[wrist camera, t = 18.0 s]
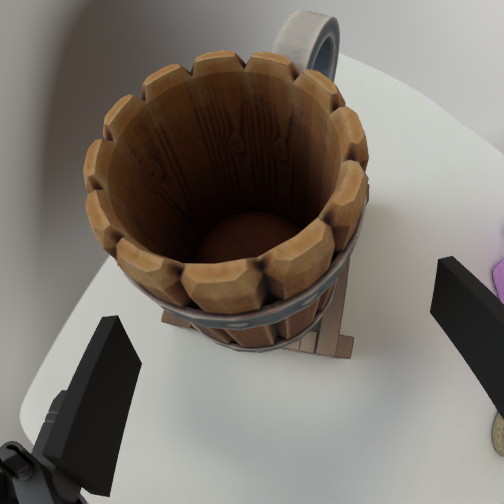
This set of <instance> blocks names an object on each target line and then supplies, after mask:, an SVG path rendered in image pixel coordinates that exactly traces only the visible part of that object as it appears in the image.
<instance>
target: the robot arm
mask: <svg viewBox="0 0 504 504" xmlns="http://www.w3.org/2000/svg"><path fill="white" fill-rule="evenodd" d="M430 313H431V314H432V316H433V317H434V318H435V320H436V321H437V322H438V324H439V325H440V326H441V328H442V329H443V330H444V332H445V333H446V334H447V336H448V337H449V338H450V340H451V341H452V343H453V344H454V345H455V347H456V348H457V350H458V351H459V352H460V354H461V355H462V357H463V358H464V360H465V361H466V362H467V364H468V365H469V367H470V368H471V370H472V371H473V373H474V374H475V376H476V377H477V379H478V380H479V382H480V383H481V385H482V386H483V388H484V389H485V391H486V393H487V394H488V396H489V397H490V399H491V400H492V402H493V404H494V405H495V407H496V409H497V410H498V412H499V413H500V415H501V417H502V418H503V420H504V304H503V303H502V302H501V301H500V300H499V299H498V298H497V297H496V296H495V295H494V294H493V293H492V292H491V291H490V290H489V289H488V288H487V287H486V286H485V285H484V284H482V283H481V282H480V281H479V280H478V279H477V278H476V277H475V276H474V275H473V274H472V273H471V272H470V271H469V270H467V269H466V268H465V267H464V266H463V265H462V264H461V263H460V262H459V261H457V260H456V259H455V258H454V257H453V256H450V257H446V258H441V259H438V265H437V273H436V280H435V286H434V292H433V298H432V304H431V309H430ZM141 365H142V363H141V361H140V359H139V357H138V355H137V353H136V351H135V349H134V347H133V345H132V343H131V341H130V339H129V337H128V335H127V333H126V331H125V329H124V327H123V325H122V323H121V321H120V319H119V317H118V315H116V316H108V317H102V318H101V320H100V322H99V324H98V326H97V328H96V330H95V332H94V334H93V336H92V338H91V340H90V342H89V344H88V346H87V348H86V350H85V352H84V355H83V357H82V359H81V361H80V363H79V365H78V367H77V369H76V372H75V374H74V376H73V378H72V380H71V383H70V385H69V387H68V389H67V390H62V391H61V392H60V393H59V394H58V395H57V396H56V398H55V399H54V400H53V402H52V404H51V406H50V409H49V411H48V412H49V414H47V416H46V418H45V423H43V425H42V428H41V430H40V433H39V435H38V438H37V440H36V443H35V445H34V448H33V451H32V453H31V454H30V453H29V452H28V451H27V450H26V449H25V448H24V447H23V446H22V445H20V444H19V443H18V442H15V441H10V442H7V443H5V444H4V445H2V446H1V447H0V504H87V502H86V500H85V498H84V497H83V496H82V495H81V494H80V491H81V487H82V488H84V489H85V490H86V491H88V492H89V493H90V494H95V495H100V496H106V497H110V492H111V487H112V482H113V477H114V472H115V468H116V463H117V459H118V454H119V450H120V445H121V441H122V437H123V433H124V429H125V425H126V421H127V417H128V413H129V409H130V405H131V401H132V397H133V394H134V390H135V386H136V383H137V379H138V376H139V372H140V369H141Z"/></svg>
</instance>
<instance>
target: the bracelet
mask: <svg viewBox="0 0 504 504" xmlns="http://www.w3.org/2000/svg"><path fill="white" fill-rule="evenodd" d="M492 441H493V445H494V448H495V449H496V451H497V452H498V453H499V454H500V456H503V457H504V420H503V418H502V417H501V415H500V413H499V412H498V414H497V416H496V418H495V421H494V425H493V430H492Z"/></svg>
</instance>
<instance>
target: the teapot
mask: <svg viewBox="0 0 504 504" xmlns="http://www.w3.org/2000/svg"><path fill="white" fill-rule="evenodd" d="M493 278H494V282H495V286H496V289H497V292H498V296H499V299H500V301H501V302H502V303H503V304H504V259H503V260H502V261H501V262H500V263H499V264H498V265H497V266H496V268H495V269H494V270H493Z"/></svg>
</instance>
